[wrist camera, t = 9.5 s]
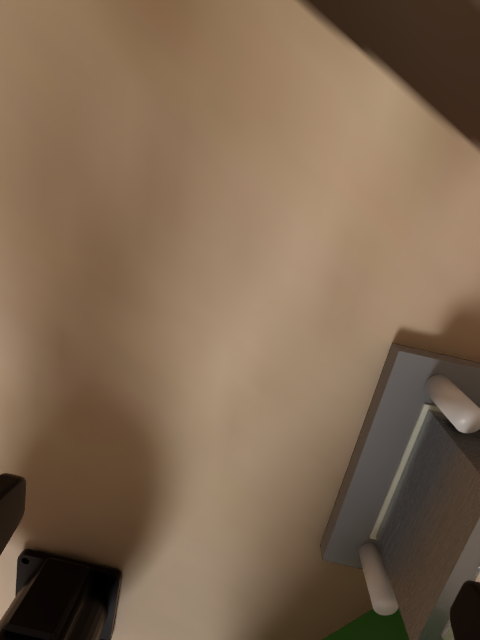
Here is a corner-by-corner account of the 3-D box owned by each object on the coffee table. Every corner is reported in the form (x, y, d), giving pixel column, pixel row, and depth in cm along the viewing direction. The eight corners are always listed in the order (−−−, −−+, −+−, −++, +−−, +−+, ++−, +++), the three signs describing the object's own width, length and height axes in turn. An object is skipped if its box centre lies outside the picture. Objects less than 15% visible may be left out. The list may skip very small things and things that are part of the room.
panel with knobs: (469, 579, 22) (511, 656, 19) (320, 544, 22) (330, 614, 19) (572, 384, 19) (651, 429, 15) (392, 343, 19) (424, 378, 15)
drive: (456, 555, 21) (523, 678, 15) (375, 536, 21) (413, 652, 15) (522, 426, 18) (628, 517, 13) (430, 404, 18) (497, 487, 13)
